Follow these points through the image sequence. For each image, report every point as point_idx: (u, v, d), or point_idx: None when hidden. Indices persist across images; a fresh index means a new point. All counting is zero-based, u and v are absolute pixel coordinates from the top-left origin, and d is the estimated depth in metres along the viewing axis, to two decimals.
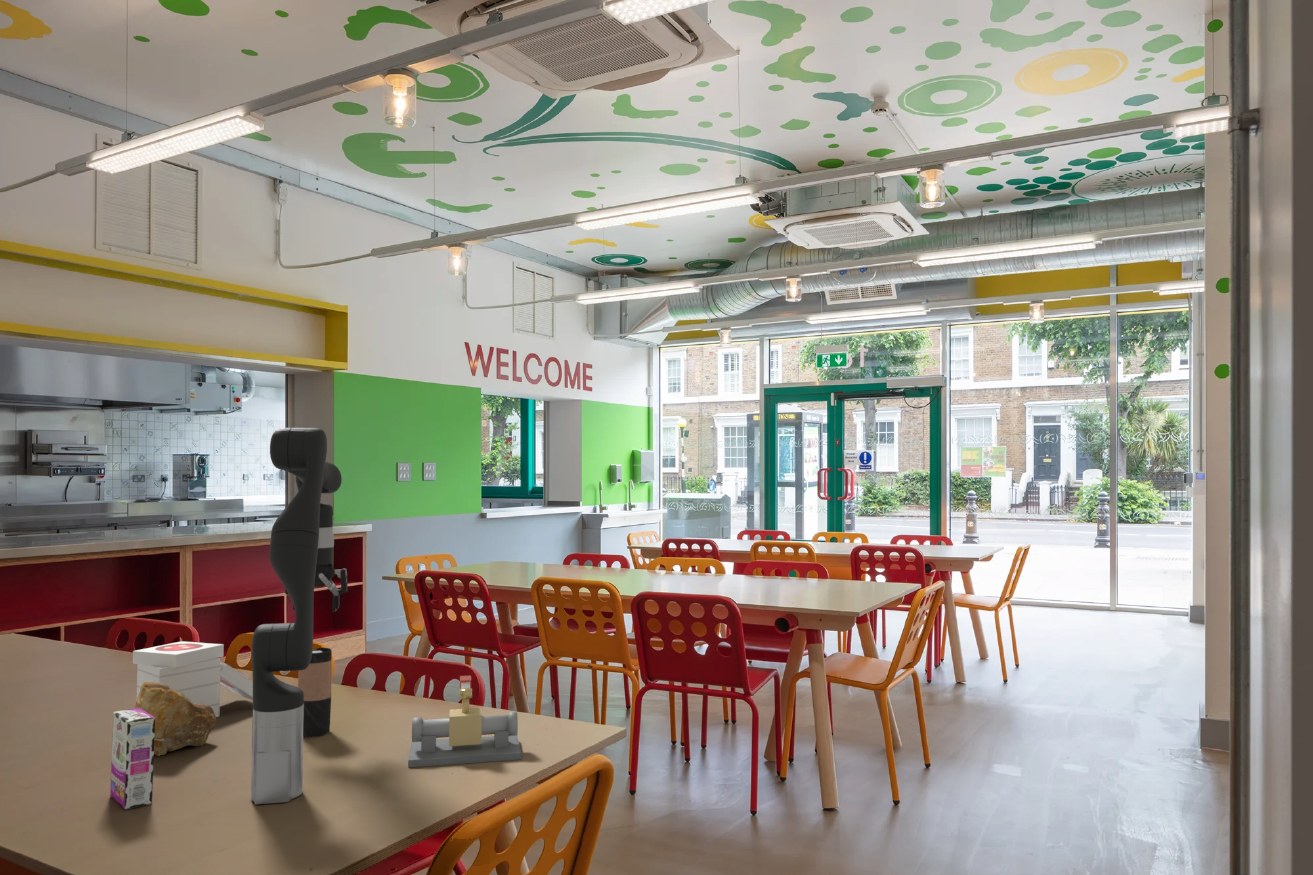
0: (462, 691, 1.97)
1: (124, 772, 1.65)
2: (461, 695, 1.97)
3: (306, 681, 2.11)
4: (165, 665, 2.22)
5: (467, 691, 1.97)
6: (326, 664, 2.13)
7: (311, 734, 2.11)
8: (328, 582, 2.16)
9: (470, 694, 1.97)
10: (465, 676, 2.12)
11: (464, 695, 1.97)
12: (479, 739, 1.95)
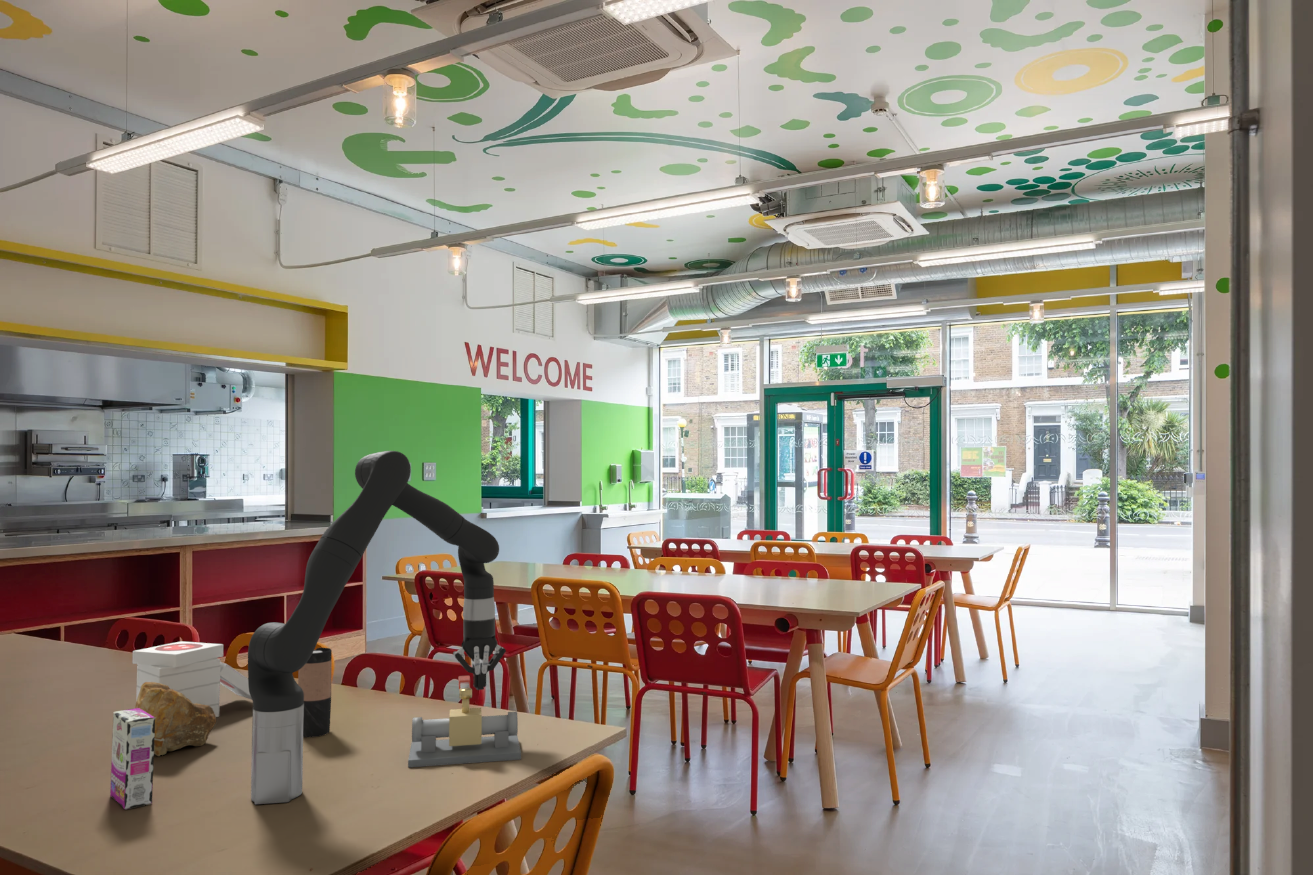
0: (462, 691, 1.97)
1: (124, 772, 1.65)
2: (461, 695, 1.97)
3: (306, 681, 2.11)
4: (165, 665, 2.22)
5: (467, 691, 1.97)
6: (326, 664, 2.13)
7: (311, 734, 2.11)
8: (487, 657, 2.10)
9: (470, 694, 1.97)
10: (464, 676, 2.11)
11: (464, 695, 1.97)
12: (479, 739, 1.95)
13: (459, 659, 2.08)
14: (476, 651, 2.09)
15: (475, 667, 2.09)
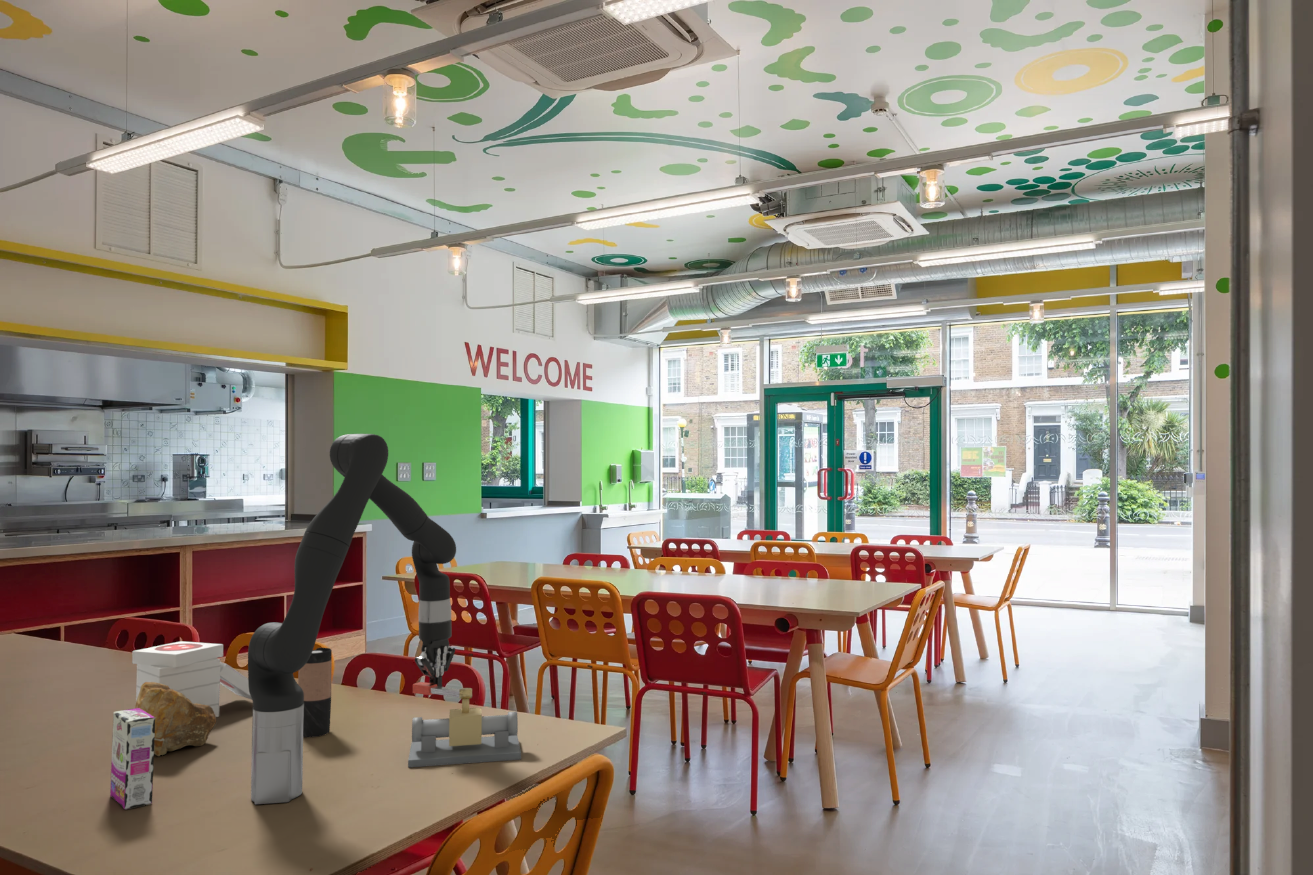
0: (467, 691, 1.97)
1: (124, 772, 1.65)
2: (466, 695, 1.97)
3: (306, 681, 2.11)
4: (165, 665, 2.22)
5: (471, 690, 1.98)
6: (326, 664, 2.13)
7: (311, 734, 2.11)
8: (445, 658, 2.07)
9: None
10: (419, 683, 2.04)
11: (469, 694, 1.97)
12: (479, 739, 1.95)
13: (426, 663, 2.02)
14: (439, 653, 2.05)
15: (436, 670, 2.05)
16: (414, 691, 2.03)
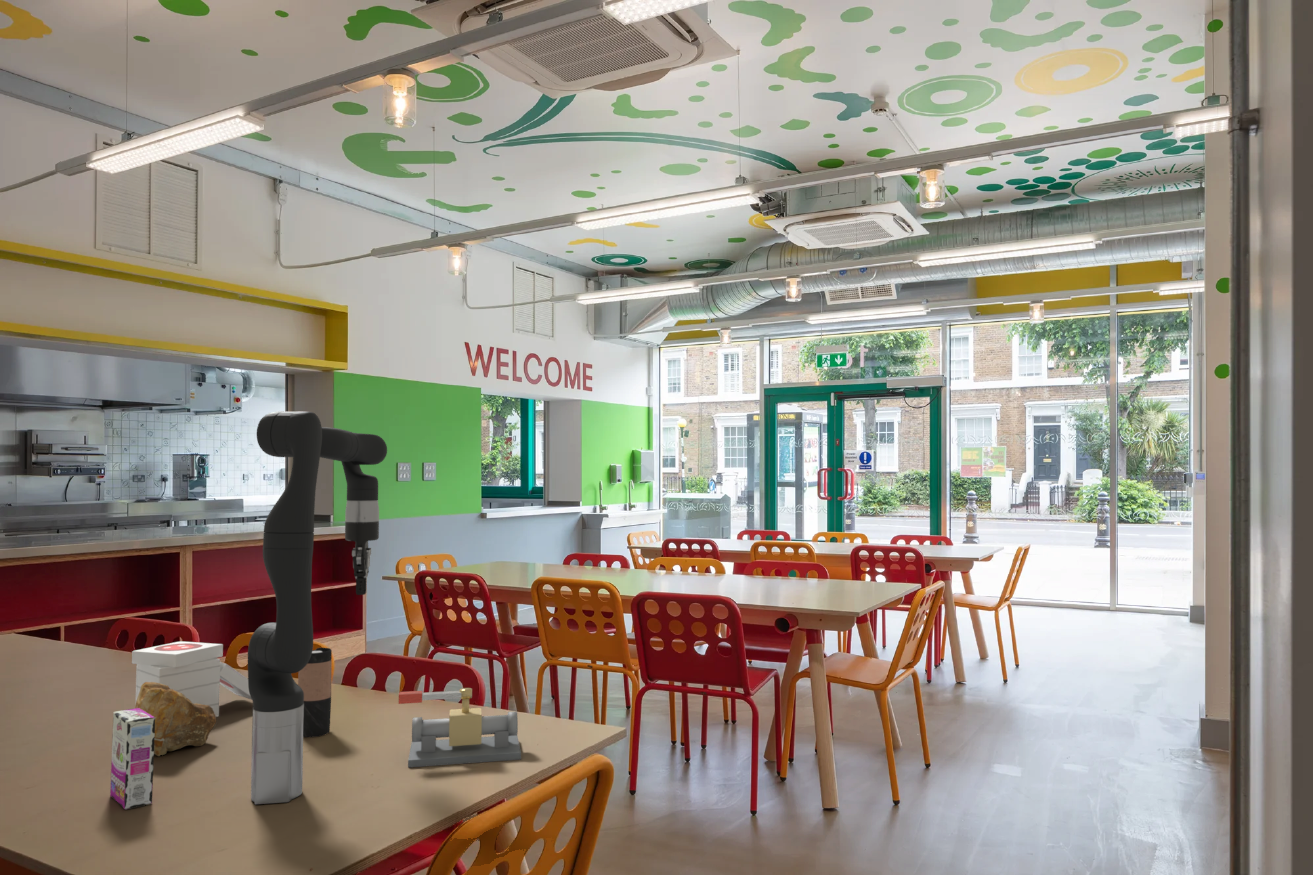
0: (470, 690, 1.98)
1: (124, 772, 1.65)
2: (470, 694, 1.97)
3: (306, 681, 2.11)
4: (165, 665, 2.22)
5: None
6: (326, 664, 2.13)
7: (311, 734, 2.11)
8: (369, 560, 2.07)
9: None
10: (402, 693, 1.95)
11: (471, 693, 1.98)
12: (479, 739, 1.95)
13: (364, 562, 2.00)
14: (369, 554, 2.04)
15: (365, 571, 2.04)
16: (401, 702, 1.93)
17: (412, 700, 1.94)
